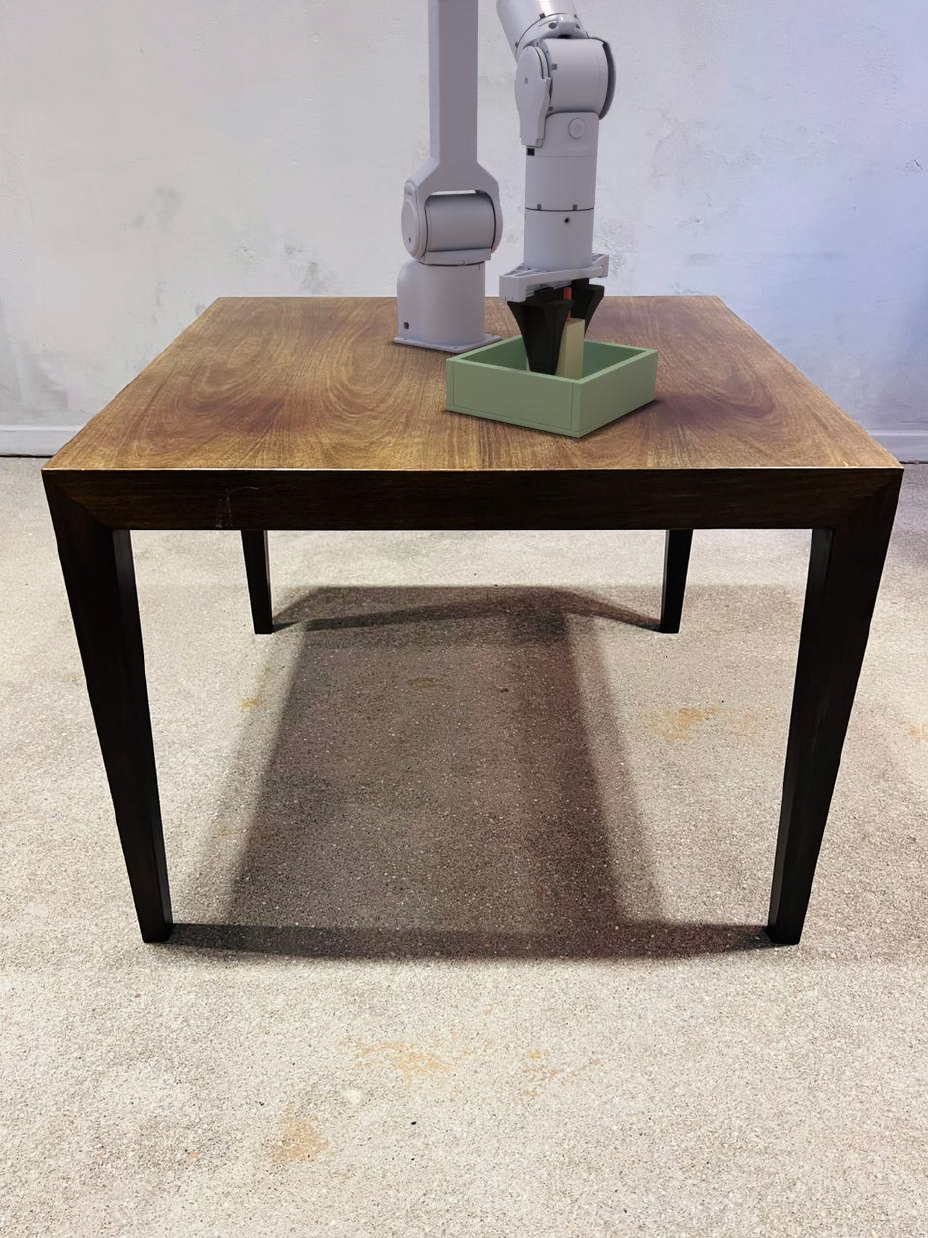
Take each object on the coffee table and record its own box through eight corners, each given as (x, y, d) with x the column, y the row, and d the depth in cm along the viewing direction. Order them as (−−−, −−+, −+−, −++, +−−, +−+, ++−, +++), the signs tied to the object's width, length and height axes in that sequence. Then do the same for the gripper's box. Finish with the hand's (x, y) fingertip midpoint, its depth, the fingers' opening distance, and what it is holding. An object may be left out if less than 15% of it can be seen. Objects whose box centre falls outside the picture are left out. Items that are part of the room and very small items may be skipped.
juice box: (525, 399, 88) (528, 286, 83) (543, 391, 90) (547, 280, 86) (563, 407, 86) (568, 291, 81) (580, 399, 88) (587, 285, 83)
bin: (446, 409, 87) (445, 359, 85) (529, 376, 97) (530, 330, 95) (578, 438, 80) (581, 383, 78) (654, 399, 90) (658, 349, 88)
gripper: (554, 219, 73) (548, 398, 80) (644, 202, 84) (632, 362, 90) (477, 213, 77) (477, 385, 83) (572, 197, 87) (565, 352, 94)
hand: (553, 372), depth 87 cm, fingers closed on juice box, 3 cm apart
